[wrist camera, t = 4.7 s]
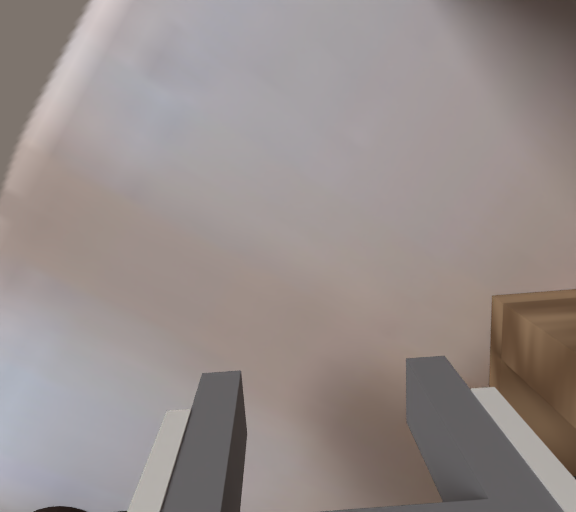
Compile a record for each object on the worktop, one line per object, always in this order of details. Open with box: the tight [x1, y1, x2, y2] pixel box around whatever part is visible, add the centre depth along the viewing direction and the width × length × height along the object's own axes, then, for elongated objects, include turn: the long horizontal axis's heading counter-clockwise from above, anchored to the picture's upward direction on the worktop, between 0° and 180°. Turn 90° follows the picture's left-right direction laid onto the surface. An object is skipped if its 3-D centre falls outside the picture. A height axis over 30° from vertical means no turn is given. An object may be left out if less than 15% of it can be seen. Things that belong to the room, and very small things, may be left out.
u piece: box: [160, 356, 564, 512], centre depth 13 cm, size 9×3×9 cm, turn 94°
